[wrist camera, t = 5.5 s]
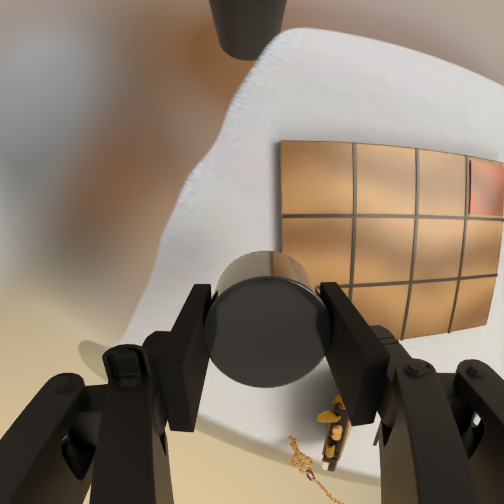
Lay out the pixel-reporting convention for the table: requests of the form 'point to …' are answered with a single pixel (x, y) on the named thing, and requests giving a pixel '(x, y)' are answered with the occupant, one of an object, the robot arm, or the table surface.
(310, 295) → the dark grey short cylinder
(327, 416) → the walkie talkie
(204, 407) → the table surface
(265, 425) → the table surface
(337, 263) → the game board
